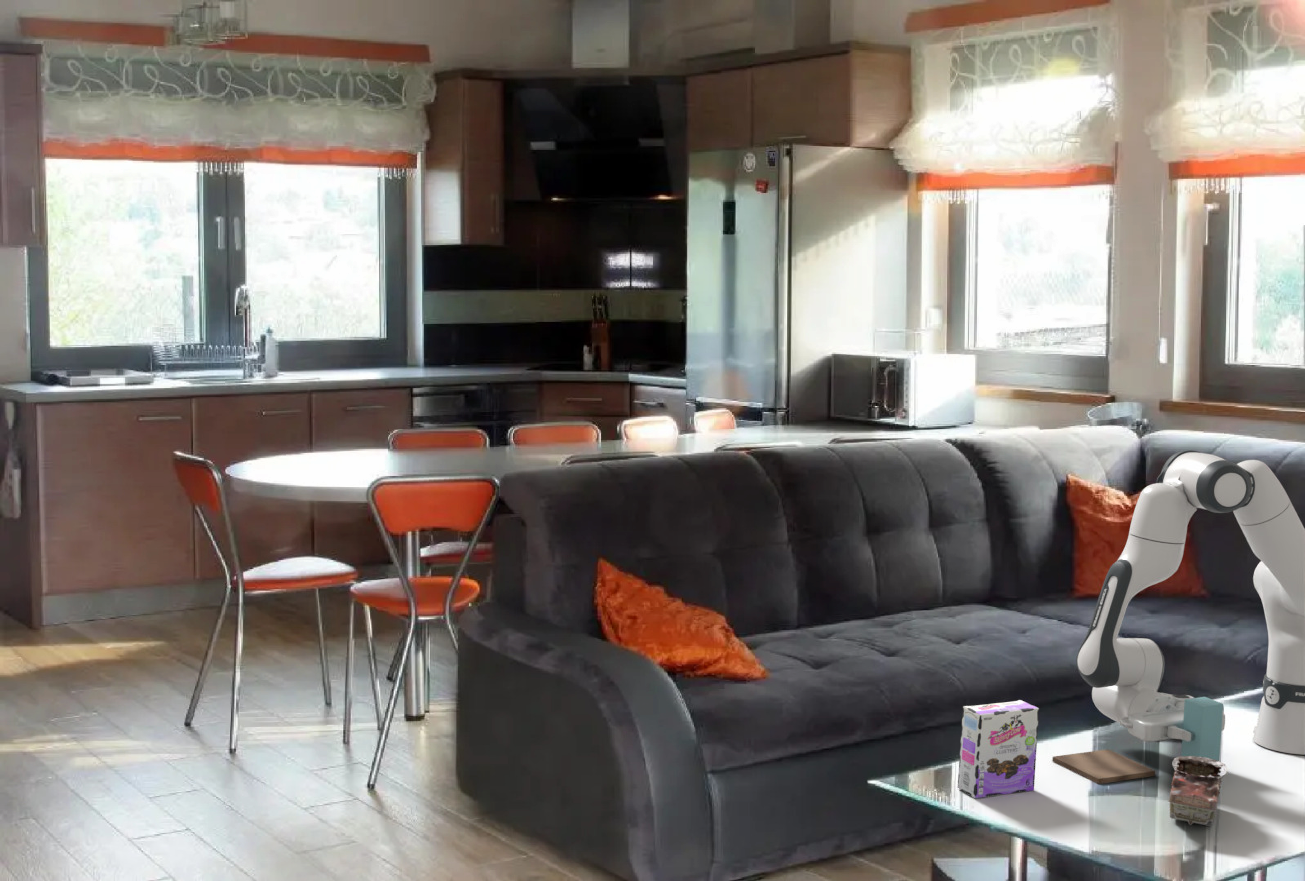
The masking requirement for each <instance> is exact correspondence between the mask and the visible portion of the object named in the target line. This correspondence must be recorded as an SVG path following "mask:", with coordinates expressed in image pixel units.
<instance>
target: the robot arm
mask: <svg viewBox="0 0 1305 881" xmlns="http://www.w3.org/2000/svg"><path fill="white" fill-rule="evenodd" d="M1198 509H1202V510H1207V511H1209V512H1212V513H1217V514H1225V513H1226V514H1227V513H1230V512H1233V514H1234V517H1235V518H1236V521H1237V523H1238V525H1239V527H1240V529H1241V531H1242V534H1243V535H1244V537H1245V539H1246V541H1247V543H1248V545H1249V547H1250V549H1251V551H1252V552H1253V554H1254V556H1255V557H1256V558H1257V559H1259V560H1260V561H1259V563H1258V564H1257V566H1256V567H1255V569H1254V572H1253V577H1252V581H1253V586H1254V589H1255V590H1256V592H1257V594H1258V595H1259V597H1260V599H1261V603H1262V607H1263V612H1264V617H1265V623H1266V628H1267V629H1266V630H1267V636H1268V646H1267V647H1268V649H1267V664H1266V673H1265V674H1264V676H1263V679H1262V680H1263V682H1262V685H1263V686H1262V692H1263V697H1262V698H1261V703H1260V707H1259V712H1258V718H1257V723H1256V726H1254V727H1253V733H1254V734H1253V737H1252V741H1253V742H1254V743H1256V744H1257V745H1258V746H1261V747H1263V748H1266V749H1269V750H1271V751H1277V752H1281V753H1287V754H1292V755H1293V754H1294V755H1303V756H1304V755H1305V527H1304V525H1303V522H1302V521H1301V519H1300V517H1299V516H1298V513H1297V511H1296V510H1295V507H1294V506H1293V504H1292V501H1291V499H1290V498H1289V496H1288V494H1287V492H1286V490H1285V488H1284V487H1283V485H1282V483H1281V481H1280V480H1279V479H1278V478H1277V476H1276V475H1275V473H1274V471H1272V470H1271V468H1270V467H1269V465H1267V464H1266V463H1265V462H1263V461H1262V460H1257V459H1247V460H1242V461H1241V462H1237V463H1235V462H1233V461H1231V460H1226V459H1224V458H1222V457H1220V456H1217V455H1215V454H1213V453H1212V454H1211V453H1205V452H1200V451H1197V450H1182V451H1179V452H1175V453H1174V454H1172V455H1171V456H1169V458H1168V459H1167V460H1166V462H1165V463H1164V465H1163V466H1162V469H1161V472H1160V474H1159V475H1158V476H1157V478H1156V483H1151V484H1149V485H1147V486H1146V487H1144V488H1143V489H1141V492H1140V495H1139V497H1138V499H1137V501H1136V504H1135V508H1134V511H1133V514H1132V519H1131V522H1130V527H1129V531H1128V536H1127V540H1126V543H1125V546H1124V548H1123V551H1122V552H1121V554H1120V555H1119V557H1118V558H1117V560H1116V561H1115V562H1114V563H1112V565H1111V566H1110V567H1109V569H1108V571H1107V573H1106V576H1105V579H1104V581H1103V584H1102V586H1101V590H1100V593H1099V596H1098V599H1097V601H1096V606H1095V608H1094V609H1095V610H1094V612H1093V614H1092V618H1091V621H1090V624H1089V627H1088V630H1087V632H1086V635H1085V637H1084V639H1083V641H1081V644H1080V646H1079V648H1078V651H1077V655H1076V668H1077V670H1078V672H1079V674H1080V676H1081V677H1082V679H1083V680H1084V681H1085V682H1086V683H1087V684H1088V685H1089V686H1091V687H1092V690H1091V698H1092V702H1093V703H1094V705H1095V707H1096V708H1097V710H1098V711H1099V712H1100V713H1101V714H1103V715H1104V716H1106V717H1107V718H1110V719H1111V720H1113V721H1115V722H1116V723H1119V725H1120V726H1122V727H1124V728H1127V731H1128V732H1127V733H1129V734H1130V735H1132V736H1134V737H1136V738H1137V739H1139V740H1141V741H1142V742H1143V741H1144V742H1148V743H1149V742H1150V743H1151V742H1158V741H1159V742H1160V741H1165V740H1172V739H1174V740H1175V739H1176V740H1182V739H1183V740H1185V741H1193V740H1195V733H1194V732H1193V731H1191V730H1184V729H1183V719H1184V704H1185V699H1192V698H1195V697H1194V696H1192V695H1190V694H1189V695H1188V694H1170V693H1165V692H1158V691H1159V689H1160V686H1161V683H1162V680H1163V676H1164V673H1165V656H1164V654H1163V651H1162V650H1161V648H1160V646H1159V645H1158V643H1156V642H1155V640H1152V639H1150V638H1147V637H1146V638H1144V637H1143V638H1141V637H1140V638H1139V637H1126V638H1125V637H1124V638H1123V637H1121V638H1120V637H1119V633H1120V630H1121V628H1122V627H1121V626H1122V623H1123V619H1124V617H1125V614H1126V610H1127V607H1128V605H1129V603H1130V602H1131V600H1132V599H1133V598H1134V597H1135V596H1136V595H1137V594H1138V593H1140V592H1142V591H1144V590H1145V589H1148V587H1152V586H1153V585H1156V584H1158V583H1162V582H1163V581H1166V580H1167V579H1169V578H1170V577H1172V576H1173V575H1174V574H1175V573H1176V572H1177V571H1178V570H1179V567H1180V566H1181V562H1182V560H1183V556H1184V551H1185V544H1186V540H1187V532H1188V525H1189V522H1190V521H1191V518H1192V517H1193V515H1194V514H1195V512H1197V510H1198ZM1225 727H1226V714H1225V713H1224V712H1223V715H1222V730H1221V732H1223V731H1224V730H1225Z"/></svg>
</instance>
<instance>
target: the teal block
mask: <svg viewBox="0 0 1305 881" xmlns="http://www.w3.org/2000/svg"><path fill="white" fill-rule="evenodd" d="M1223 713H1224V703H1222V702H1219V701H1217V700H1215V699H1211V698H1209V697H1206V696H1200V697H1194V698H1192V699H1185V704H1184V719H1183V729H1184V730H1191V731H1193V732H1194V733H1195V740H1193V741H1185V740H1183V739H1181V751H1180V752H1181V754H1180V756H1181V757H1183V756H1196V757H1203V758H1204V757H1205V758H1209V759H1213V760H1217V761H1219V762H1220V758H1221V744H1222V743H1221V741H1222V731H1221V730H1222V715H1223Z"/></svg>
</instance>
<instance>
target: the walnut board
mask: <svg viewBox="0 0 1305 881" xmlns="http://www.w3.org/2000/svg"><path fill="white" fill-rule="evenodd" d="M1051 762H1053V763H1054V764H1056V765H1059V766H1061V767H1063V768H1065V769H1067V770H1069V771H1070V772H1073V773H1075V774H1077V775H1079V776H1080V777H1083V778H1085V779H1087V780H1089V781H1091V782H1094V783H1095V784H1099V785H1101V784H1107V783H1113V782H1114V783H1115V782H1120V781H1121V782H1122V781H1128V780H1135V779H1143V778H1149V777H1155V776H1156V770H1154V769H1153V768H1150V767H1148V766H1146V765H1143V764H1142V763H1140V762H1137V761H1135V760H1133V759H1130V758H1128V757H1127V756H1124V755H1122V754H1119V753H1118V752H1116V751H1113V750H1111V749H1108V748H1107V749H1101V750H1100V749H1099V750H1093V751H1092V750H1091V751H1086V752H1077V753H1069V754H1063V755H1056V756H1055V755H1054V756H1052V760H1051Z"/></svg>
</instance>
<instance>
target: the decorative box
mask: <svg viewBox="0 0 1305 881" xmlns="http://www.w3.org/2000/svg"><path fill="white" fill-rule="evenodd" d="M1171 765H1172V768H1173V769H1174V772H1173V777H1172V781H1171V788H1170V790H1169V800H1168V803H1169V817H1170V818H1171V819H1173V820H1178V821H1182V822H1187V823H1188V825H1190V826H1191V825H1193V824H1196V825H1197V824H1198V825H1203V826H1208V827H1211V826H1213V824H1214V820H1215V816H1216V813H1217V809H1218V803H1219V797H1220V795H1221V791H1220V790H1221V788H1222V787H1221V784H1222V778H1223V777H1224V776H1225V775H1226V774H1227V772H1228V771H1227V765H1226V764H1224V763H1223V762H1221V761H1220V760H1219V761H1217V760H1213V759H1209V758H1205V757H1204V758H1203V757H1196V756H1183V757H1181V755H1180V756H1177V757H1175V758H1174V759H1173V760H1172V762H1171Z"/></svg>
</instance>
